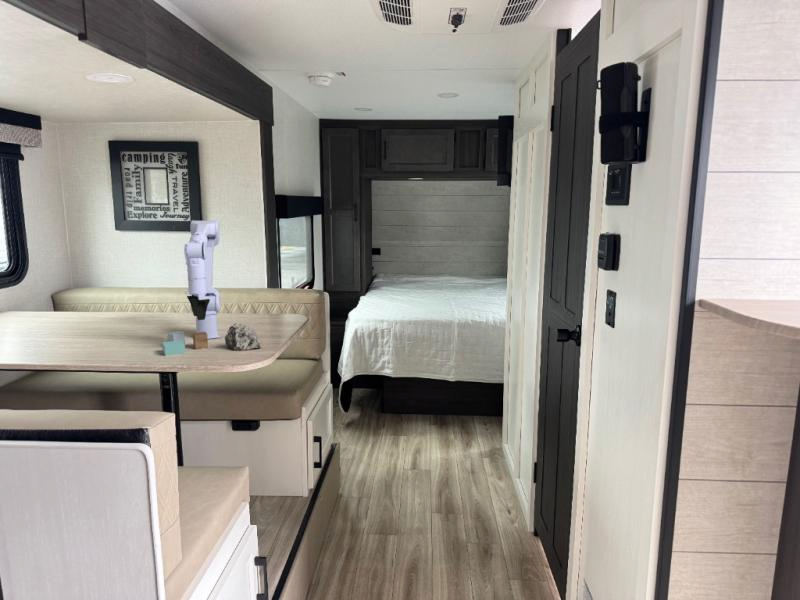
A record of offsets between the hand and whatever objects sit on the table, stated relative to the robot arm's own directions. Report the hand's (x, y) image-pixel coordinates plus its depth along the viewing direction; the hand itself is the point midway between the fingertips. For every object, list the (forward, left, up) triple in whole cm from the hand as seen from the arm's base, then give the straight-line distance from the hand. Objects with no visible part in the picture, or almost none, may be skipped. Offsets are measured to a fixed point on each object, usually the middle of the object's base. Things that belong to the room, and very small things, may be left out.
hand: (199, 317), depth 180 cm
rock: (+7, +13, -11) cm, 18 cm away
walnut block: (0, 0, -10) cm, 11 cm away
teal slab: (+3, -9, -11) cm, 14 cm away
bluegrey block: (-5, -7, -10) cm, 14 cm away
